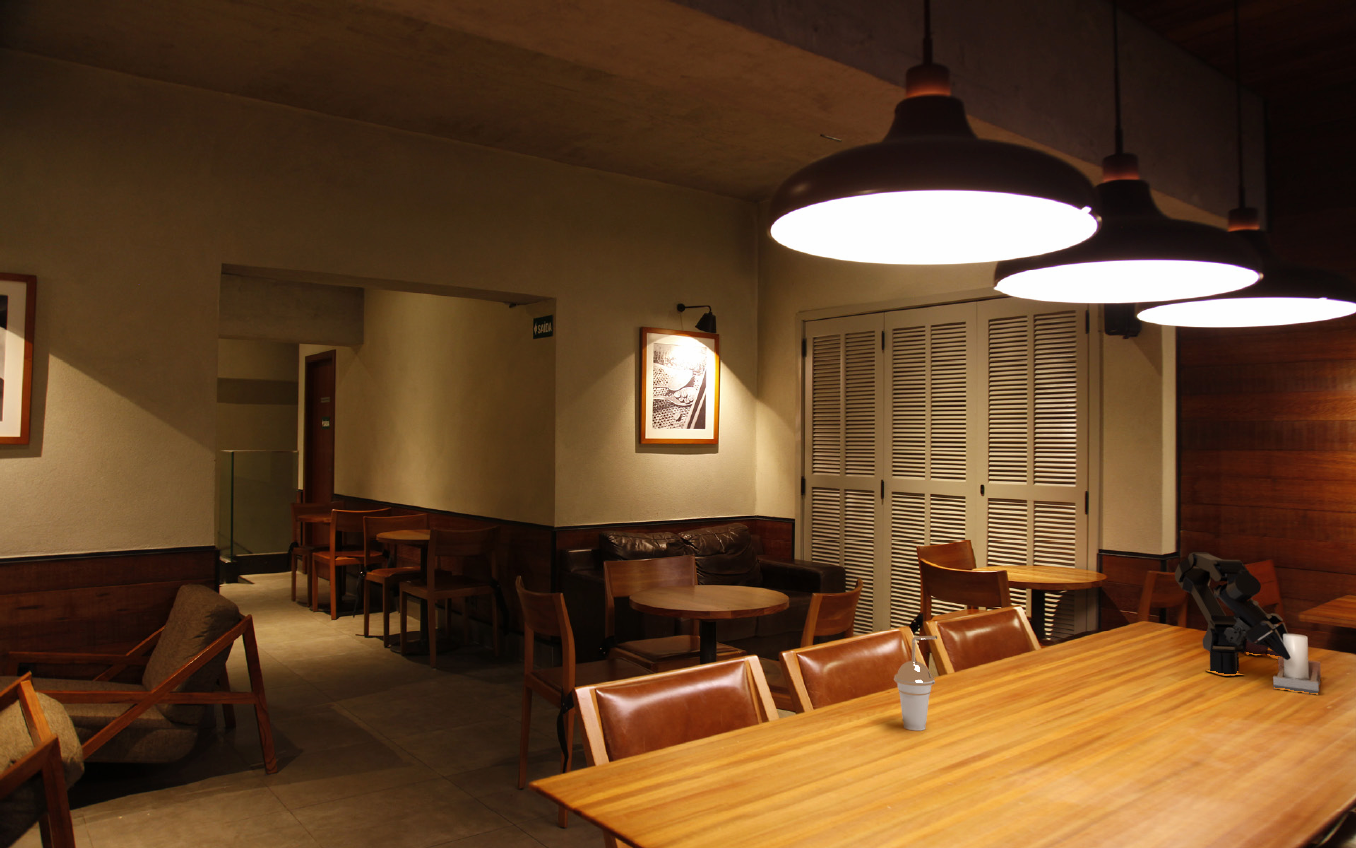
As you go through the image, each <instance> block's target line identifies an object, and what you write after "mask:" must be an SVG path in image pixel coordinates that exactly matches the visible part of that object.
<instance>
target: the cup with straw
mask: <svg viewBox="0 0 1356 848" xmlns="http://www.w3.org/2000/svg"><path fill="white" fill-rule="evenodd" d="M937 639H938V636H937V635H919V636H917V635H916V636H913V637H912V639H911V660H909V661H906V662H904V663H903V664H901V666H900V667H899V669H898V671H897V673H896V674H894V678H893V680H894V682H895V683H896V684H897V689H898V694H899V698H900V699H899V700H900V708H901V718H902V721H903V728H904V729H906V730H909V731H917V732H918V731H925V730H926V724H927V719H928V709H929V701H930V696H931V691H932V686H933V685H935V684H936V681H935V678H934V676H932V674H931V672H930V670H929V668H928V667H927V665H925V664H924V663H922V662H920V661H916V641H917V640H937Z"/></svg>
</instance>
